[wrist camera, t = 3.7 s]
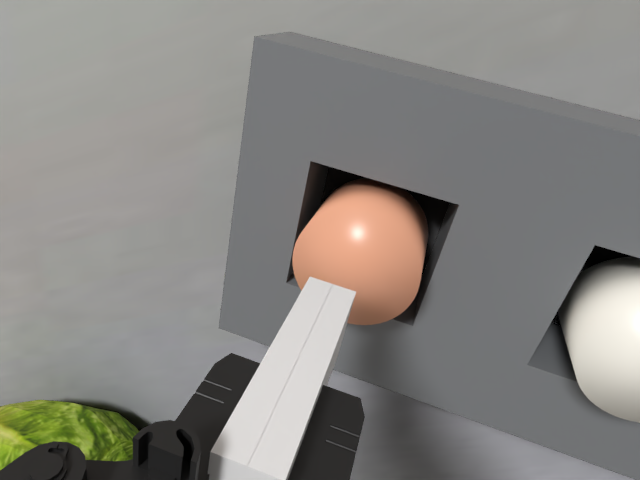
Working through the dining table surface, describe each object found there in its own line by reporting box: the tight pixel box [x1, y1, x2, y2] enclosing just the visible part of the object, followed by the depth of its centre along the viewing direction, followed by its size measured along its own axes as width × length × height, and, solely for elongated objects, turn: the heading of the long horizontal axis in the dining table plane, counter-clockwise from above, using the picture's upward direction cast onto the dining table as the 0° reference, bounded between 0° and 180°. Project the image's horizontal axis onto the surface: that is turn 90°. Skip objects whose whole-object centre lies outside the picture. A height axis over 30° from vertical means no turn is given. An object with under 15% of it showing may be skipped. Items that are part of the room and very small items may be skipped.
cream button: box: [558, 257, 640, 423], centre depth 18 cm, size 5×5×4 cm
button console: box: [219, 32, 640, 480], centre depth 20 cm, size 34×14×4 cm, turn 78°
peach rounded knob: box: [292, 178, 428, 325], centre depth 20 cm, size 5×5×4 cm
